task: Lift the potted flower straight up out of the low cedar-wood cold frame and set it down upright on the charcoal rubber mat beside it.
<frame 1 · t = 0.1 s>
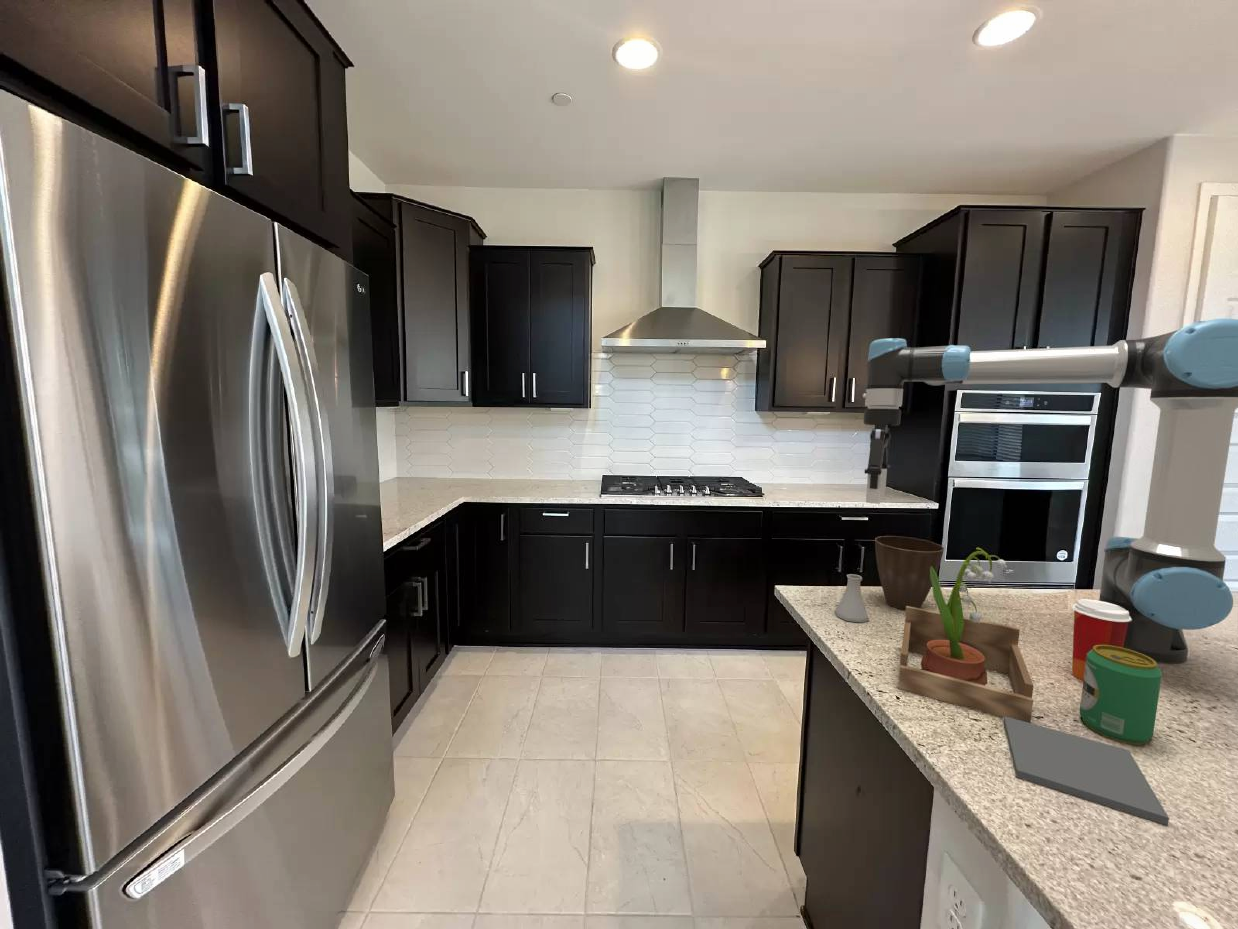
hand: (875, 498, 116), 28 cm above the countertop, tool pointing down, fingers open, 13 cm apart
potted flower: (957, 682, 89), resting in cold frame
cold frame: (957, 681, 89), on the countertop
plant pot: (903, 605, 124), on the countertop
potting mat: (1073, 766, 67), on the countertop
paper cup: (1091, 680, 90), on the countertop
beverage can: (1113, 730, 76), on the countertop
flask: (851, 618, 116), on the countertop
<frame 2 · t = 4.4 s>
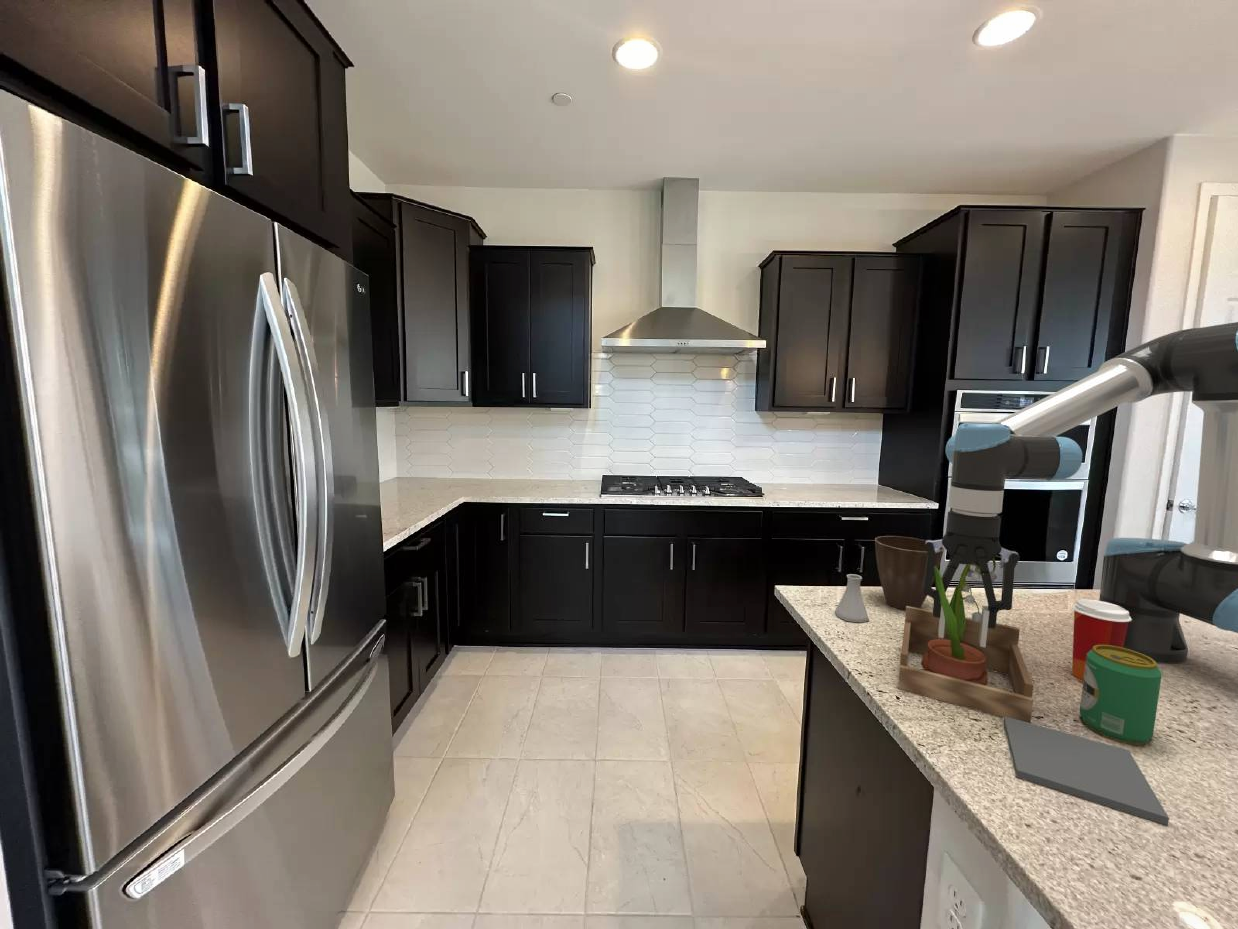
hand: (961, 639, 88), 8 cm above the countertop, tool pointing down, fingers open, 5 cm apart
potted flower: (957, 681, 89), resting in cold frame, touching gripper, hand
everything else where it was.
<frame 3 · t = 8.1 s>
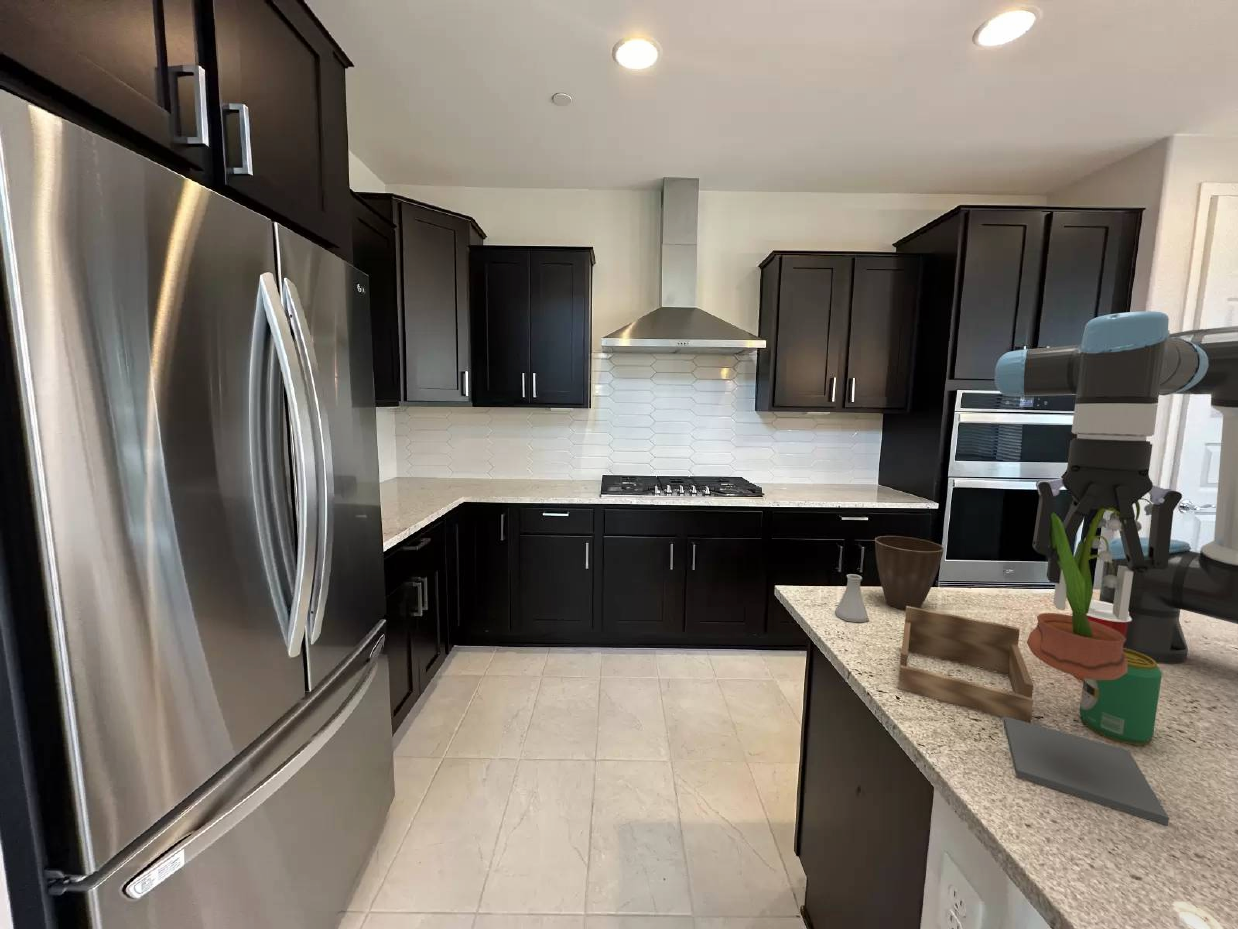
hand: (1088, 611, 66), 22 cm above the countertop, tool pointing down
potted flower: (1079, 668, 67), point 14 cm above the countertop, touching gripper, hand
everything else where it was.
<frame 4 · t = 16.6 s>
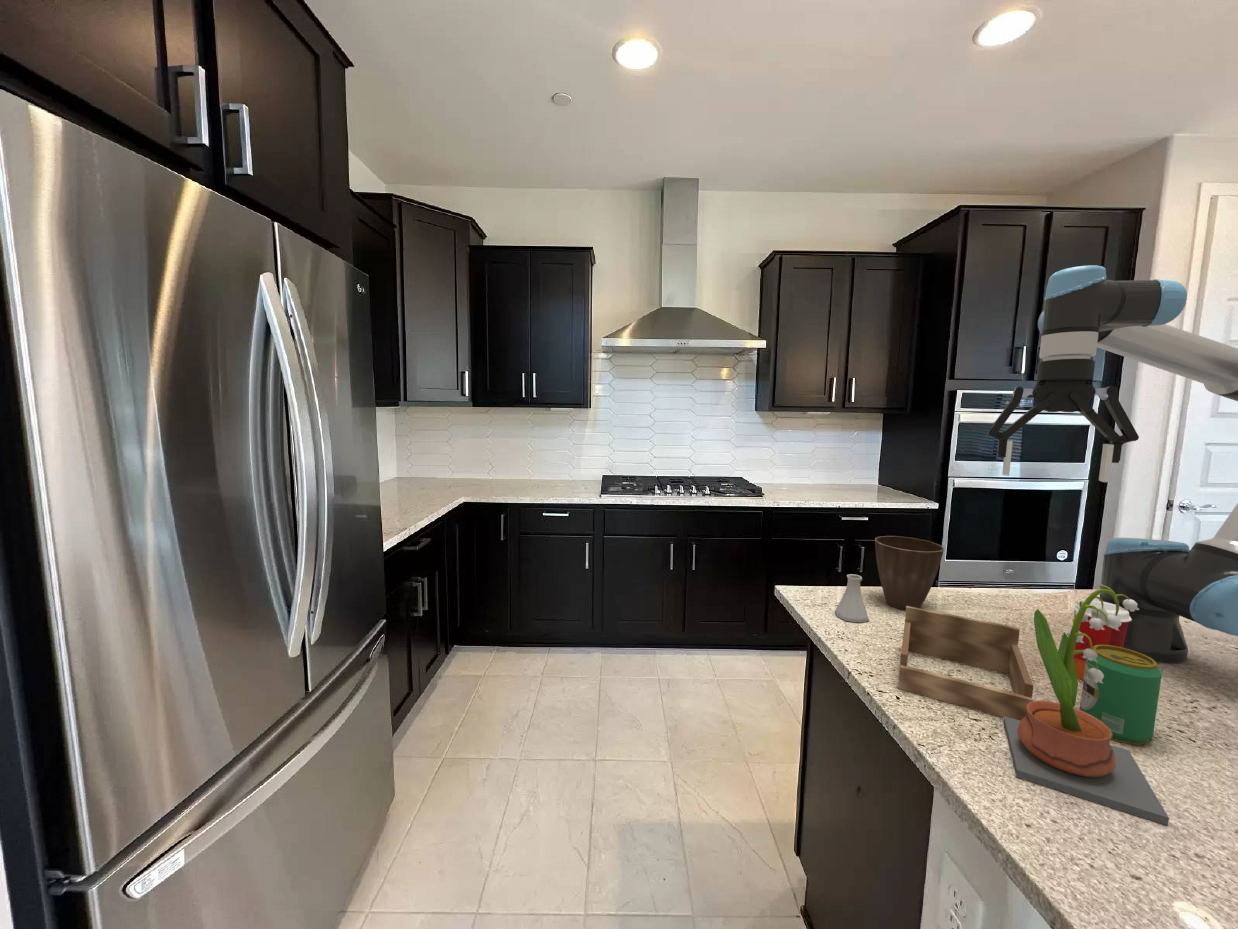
hand: (1052, 478, 89), 37 cm above the countertop, tool pointing down, fingers open, 13 cm apart
potted flower: (1069, 759, 68), point 1 cm above the countertop, touching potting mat
everything else where it was.
at the end: potted flower inside the target area on the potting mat (0.5 cm from its centre), point 0.8 cm above the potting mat's base; potted flower tilted 0°; the gripper is holding nothing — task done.
